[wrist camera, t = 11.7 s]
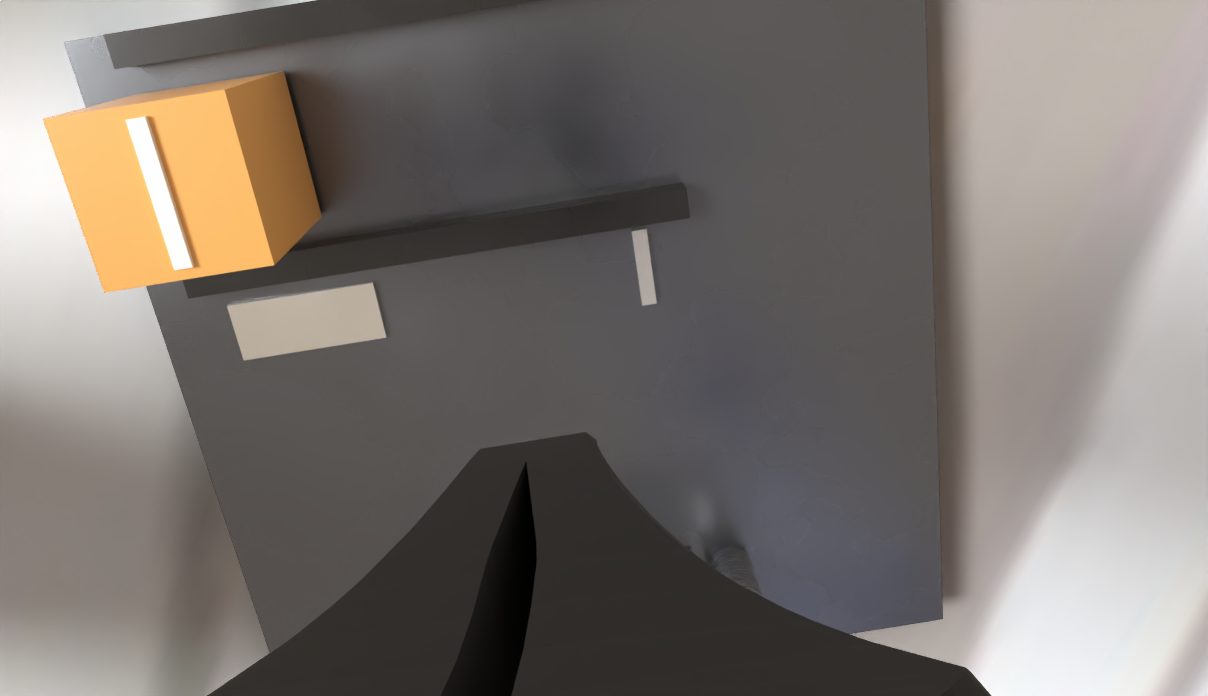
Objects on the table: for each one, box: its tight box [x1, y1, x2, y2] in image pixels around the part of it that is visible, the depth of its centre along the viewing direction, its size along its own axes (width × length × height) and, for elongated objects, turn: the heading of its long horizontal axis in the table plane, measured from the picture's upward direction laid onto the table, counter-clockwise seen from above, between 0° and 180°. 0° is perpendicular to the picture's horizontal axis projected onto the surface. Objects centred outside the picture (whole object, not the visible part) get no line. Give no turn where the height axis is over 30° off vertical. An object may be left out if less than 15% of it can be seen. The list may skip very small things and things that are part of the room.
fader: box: [43, 71, 322, 293], centre depth 17 cm, size 3×3×4 cm
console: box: [64, 0, 943, 653], centre depth 19 cm, size 16×16×5 cm
